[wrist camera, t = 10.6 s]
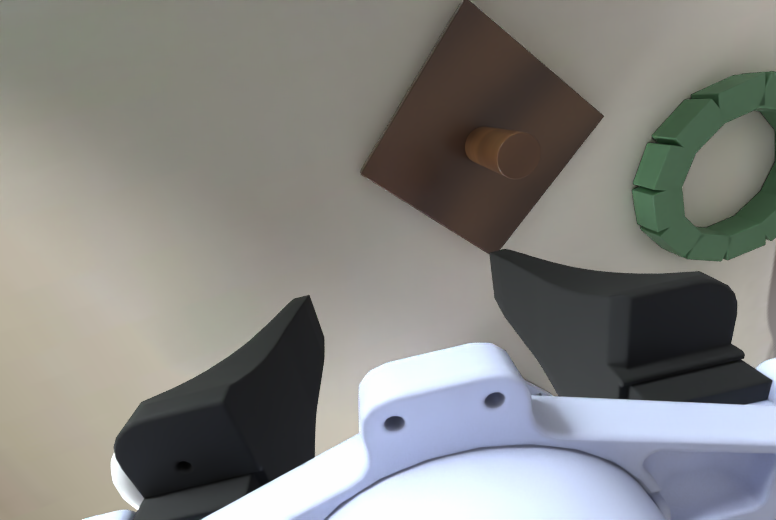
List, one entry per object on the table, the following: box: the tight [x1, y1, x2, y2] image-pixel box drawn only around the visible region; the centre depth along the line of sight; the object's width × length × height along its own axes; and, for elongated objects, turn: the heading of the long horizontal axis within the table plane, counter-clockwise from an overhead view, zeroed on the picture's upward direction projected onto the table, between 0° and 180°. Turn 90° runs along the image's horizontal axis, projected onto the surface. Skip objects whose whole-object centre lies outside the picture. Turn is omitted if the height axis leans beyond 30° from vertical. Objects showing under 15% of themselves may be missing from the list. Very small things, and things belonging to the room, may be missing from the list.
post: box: [360, 0, 604, 254], centre depth 19 cm, size 10×10×6 cm
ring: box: [632, 71, 776, 261], centre depth 22 cm, size 11×11×2 cm
